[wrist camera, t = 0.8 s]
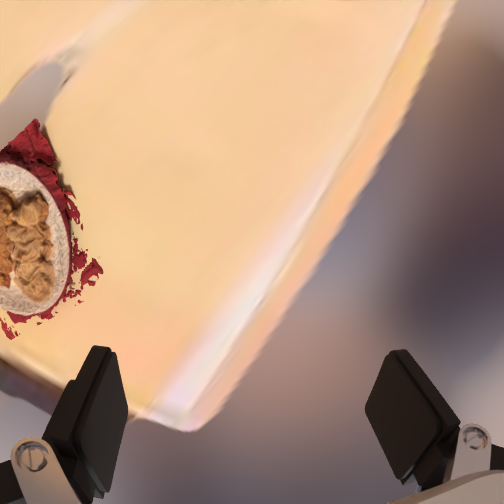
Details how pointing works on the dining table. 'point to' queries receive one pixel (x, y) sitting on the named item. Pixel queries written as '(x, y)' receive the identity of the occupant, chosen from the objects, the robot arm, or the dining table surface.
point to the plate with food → (35, 232)
